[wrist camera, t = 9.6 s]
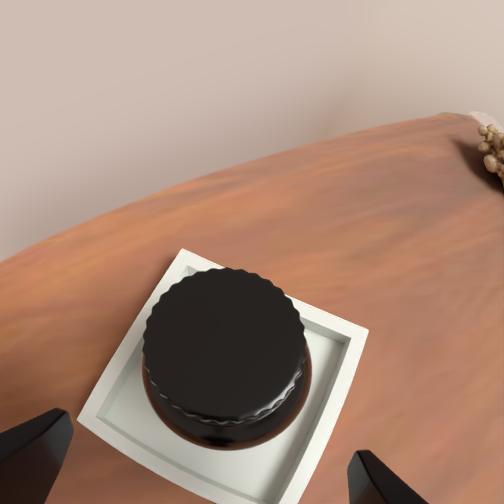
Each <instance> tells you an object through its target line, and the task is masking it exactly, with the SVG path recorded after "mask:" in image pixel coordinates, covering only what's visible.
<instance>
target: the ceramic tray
mask: <svg viewBox="0 0 504 504" xmlns="http://www.w3.org/2000/svg"><path fill="white" fill-rule="evenodd" d="M211 268H216V269H222V268H224V267H222V266H220V265H218V264H215V263H213V262H211V261H209V260H207V259H204V258H202V257H200V256H198V255H196V254H193V253H191V252H189V251H187V250H185V249H183V248H182V249H181V251H180V252H179V254H178V255H177V257H176V258H175V260H174V261H173V263H172V264H171V266H170V267H169V269H168V270H167V272H166V273H165V275H164V276H163V278H162V279H161V281H160V282H159V284H158V285H157V287H156V288H155V290H154V291H153V293H152V294H151V296H150V298H149V299H148V301H147V302H146V304H145V305H144V307H143V308H142V310H141V312H140V313H139V315H138V316H137V318H136V320H135V321H134V323H133V324H132V326H131V328H130V329H129V331H128V332H127V334H126V336H125V337H124V339H123V341H122V342H121V344H120V345H119V347H118V349H117V350H116V352H115V354H114V355H113V357H112V359H111V360H110V362H109V364H108V365H107V367H106V369H105V371H104V372H103V374H102V376H101V377H100V379H99V381H98V383H97V384H96V386H95V388H94V390H93V391H92V393H91V395H90V397H89V398H88V400H87V402H86V404H85V405H84V407H83V409H82V411H81V413H80V415H79V416H78V418H77V421H79V422H80V423H81V424H82V425H84V426H85V427H86V428H88V429H89V430H90V431H92V432H93V433H94V434H96V435H97V436H99V437H100V438H101V439H103V440H104V441H106V442H107V443H108V444H110V445H111V446H113V447H114V448H116V449H117V450H119V451H120V452H122V453H123V454H125V455H127V456H128V457H130V458H131V459H133V460H134V461H136V462H138V463H139V464H141V465H143V466H144V467H146V468H148V469H149V470H151V471H153V472H155V473H156V474H158V475H160V476H162V477H164V478H165V479H167V480H169V481H171V482H173V483H175V484H177V485H179V486H181V487H183V488H185V489H187V490H189V491H191V492H193V493H195V494H197V495H199V496H201V497H203V498H206V499H208V500H210V501H212V502H215V503H217V504H297V503H298V501H299V499H300V497H301V496H302V494H303V492H304V490H305V488H306V486H307V484H308V482H309V480H310V478H311V476H312V474H313V472H314V470H315V468H316V466H317V464H318V461H319V459H320V457H321V455H322V453H323V451H324V448H325V446H326V444H327V442H328V440H329V437H330V435H331V433H332V430H333V428H334V426H335V423H336V421H337V418H338V416H339V413H340V411H341V408H342V406H343V403H344V401H345V398H346V396H347V393H348V390H349V388H350V385H351V382H352V379H353V377H354V374H355V371H356V368H357V365H358V362H359V359H360V357H361V354H362V350H363V347H364V344H365V341H366V338H367V335H368V332H369V330H368V329H365V328H363V327H360V326H358V325H356V324H353V323H351V322H348V321H346V320H344V319H341V318H339V317H337V316H334V315H332V314H329V313H327V312H325V311H322V310H320V309H318V308H315V307H313V306H311V305H308V304H306V303H304V302H301V301H299V300H297V299H294V298H292V297H290V296H288V295H285V296H286V297H289V298H290V299H291V300H292V302H293V306H294V307H295V308H296V309H297V310H298V311H299V312H300V320H301V322H302V323H303V325H304V326H305V330H304V336H305V338H306V340H307V343H308V347H309V350H310V354H311V359H312V382H311V387H310V392H309V395H308V398H307V400H306V402H305V405H304V407H303V408H302V410H301V412H300V414H299V415H298V416H297V418H296V419H295V420H294V421H293V422H292V424H291V425H290V426H289V427H288V428H287V429H285V430H284V431H283V432H282V433H281V434H279V435H278V436H276V437H275V438H273V439H272V440H270V441H268V442H266V443H264V444H261V445H259V446H256V447H253V448H249V449H244V450H238V451H218V450H212V449H207V448H203V447H200V446H197V445H195V444H192V443H190V442H188V441H186V440H184V439H182V438H181V437H179V436H178V435H176V434H175V433H174V432H172V431H171V430H170V429H169V428H168V427H167V426H166V425H165V424H164V423H163V422H162V421H161V420H160V419H159V417H158V416H157V415H156V413H155V412H154V410H153V409H152V407H151V405H150V403H149V401H148V398H147V396H146V393H145V389H144V385H143V380H142V357H143V352H142V348H143V345H144V339H143V333H144V331H145V329H146V320H147V318H148V317H149V316H150V315H151V312H152V307H153V306H154V305H155V304H156V303H157V302H158V301H159V298H160V296H161V294H163V293H165V292H167V291H168V290H169V288H170V287H171V285H172V284H175V283H178V282H180V281H181V280H182V279H183V278H184V277H186V276H192V275H193V274H195V273H196V272H198V271H207V270H209V269H211Z"/></svg>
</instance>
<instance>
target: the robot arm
mask: <svg viewBox="0 0 504 504" xmlns="http://www.w3.org/2000/svg"><path fill="white" fill-rule="evenodd" d="M72 436H73V425H72V422H71V419H70V416H69V413H68V412H67V411H66V410H63V409H60V408H54V409H52V410H50V411H48V412H46V413H44V414H41V415H39V416H37V417H35V418H33V419H31V420H29V421H26V422H24V423H22V424H20V425H18V426H15V427H13V428H11V429H9V430H7V431H4V432H2V433H0V504H44V503H45V501H46V499H47V497H48V494H49V492H50V490H51V488H52V486H53V484H54V482H55V480H56V478H57V476H58V474H59V471H60V469H61V467H62V464H63V461H64V458H65V455H66V452H67V450H68V447H69V444H70V441H71V439H72ZM347 475H348V488H349V502H350V504H429V503H428V502H426V501H425V500H424V499H423V498H422V497H421V496H419V495H418V494H417V493H416V492H415V491H414V490H413V489H412V488H410V487H409V486H408V485H407V484H406V483H405V482H404V481H403V480H401V479H400V478H399V477H398V476H397V475H396V474H395V473H394V472H393V471H392V470H390V469H389V468H388V467H387V466H386V465H385V464H384V463H383V462H382V461H381V460H380V459H379V458H377V457H376V456H375V455H374V454H373V453H372V452H371V451H370V450H357V451H356V452H355V453H354V455H353V457H352V459H351V461H350V463H349V465H348V469H347Z"/></svg>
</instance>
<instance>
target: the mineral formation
mask: <svg viewBox="0 0 504 504" xmlns="http://www.w3.org/2000/svg"><path fill="white" fill-rule="evenodd" d="M478 132H479V134H480V135H481V136H485V139H486V141H483V142H480V143H479V146H478V150H479V151H481V152H483V153H489V154H490V155H487V156H485V158H484V163H485V166H486V168H487V170H488V171H490V172H495V173H498V176H499V177H500V179H501V180H502V183H503V188H504V133H500V132H499V130H498V129H497V128H496V127H495V126H494V125H492V124H491V125H489V126H487V127H485V126H483V125H481V126H480V127H479V128H478Z"/></svg>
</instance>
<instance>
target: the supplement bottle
mask: <svg viewBox="0 0 504 504" xmlns="http://www.w3.org/2000/svg"><path fill="white" fill-rule="evenodd" d="M304 330H305V326H304V325H303V323H302V322H301V320H300V312H299V311H298V310H297V309H296V308H295V307H294V306H293V302H292V300H291V299H290V298H289V297H286V296H285V294H284V292H283V291H282V289H280V288H278V287H276V286H274V285H273V284H272V282H271V281H270V280H267V279H263V278H261V277H260V276H259V275H258V274H256V273H248V272H246V271H245V270H243V269H238V270H233V269H231V268H228V267H226V268H222V269H216V268H211V269H209V270H207V271H198V272H196V273H195V274H193V275H192V276H186V277H184V278H183V279H182V280H181V281H180V282H178V283H175V284H172V285H171V287H170V288H169V290H168V291H167V292H165V293H163V294H161V296H160V298H159V301H158V302H157V303H156V304H155V305H154V306H153V307H152V312H151V315H150V316H149V317H148V318H147V320H146V329H145V331H144V333H143V339H144V345H143V348H142V352H143V357H142V380H143V385H144V389H145V393H146V396H147V398H148V401H149V403H150V405H151V407H152V409H153V410H154V412H155V413H156V415H157V416H158V417H159V419H160V420H161V421H162V422H163V423H164V424H165V425H166V426H167V427H168V428H169V429H170V430H171V431H172V432H174V433H175V434H176V435H178V436H179V437H181V438H182V439H184V440H186V441H188V442H190V443H192V444H195V445H197V446H200V447H203V448H207V449H212V450H218V451H238V450H244V449H249V448H253V447H256V446H259V445H261V444H264V443H266V442H268V441H270V440H272V439H273V438H275V437H276V436H278V435H279V434H281V433H282V432H283V431H284V430H285V429H287V428H288V427H289V426H290V425H291V424H292V422H293V421H294V420H295V419H296V418H297V416H298V415H299V414H300V412H301V410H302V408H303V407H304V405H305V402H306V400H307V398H308V395H309V392H310V387H311V382H312V359H311V354H310V350H309V347H308V343H307V340H306V338H305V336H304Z"/></svg>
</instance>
